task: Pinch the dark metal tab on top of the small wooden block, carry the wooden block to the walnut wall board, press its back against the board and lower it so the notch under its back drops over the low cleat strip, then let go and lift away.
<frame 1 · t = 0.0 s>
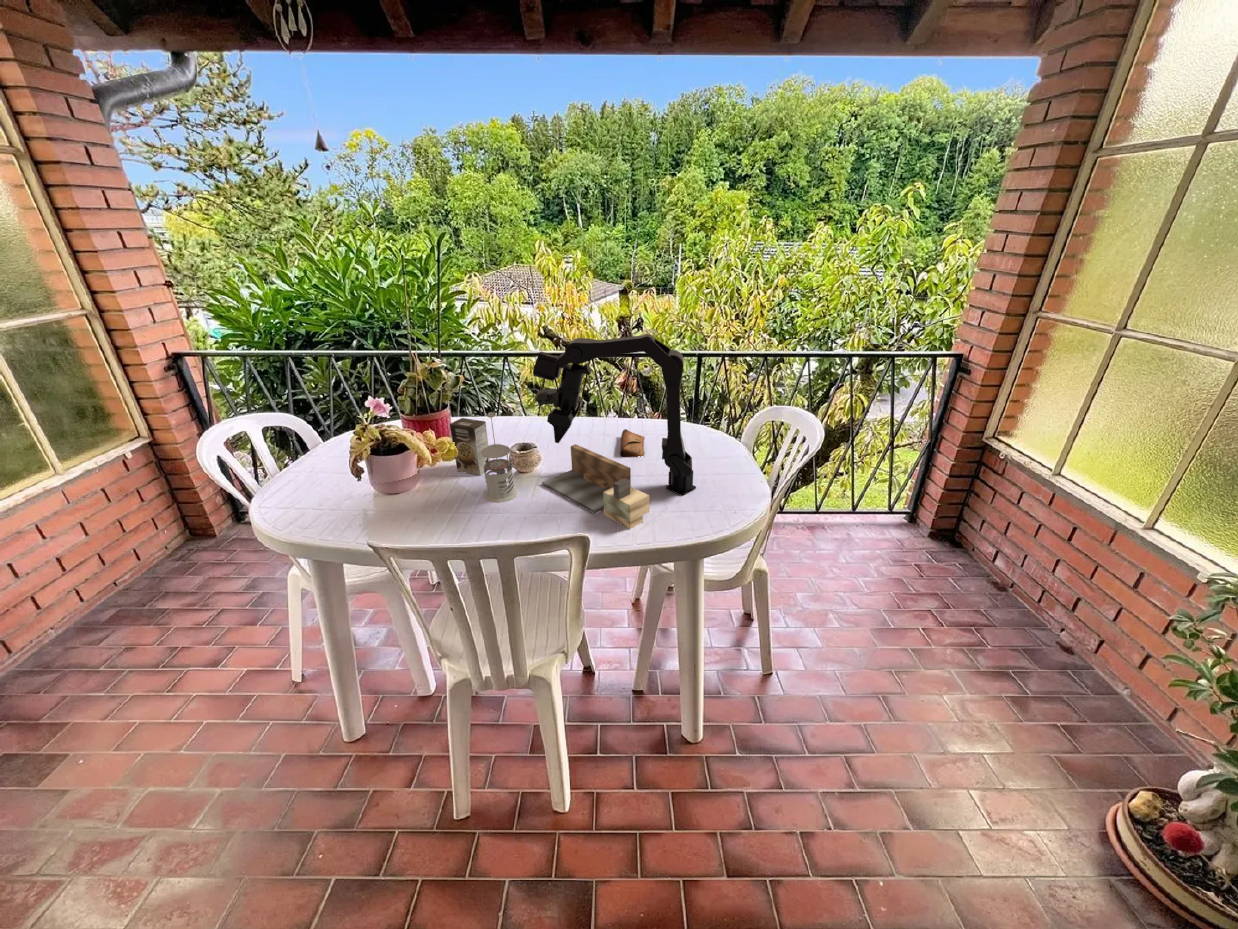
hand: (560, 436, 148), 15 cm above the table, tool pointing down, fingers open, 9 cm apart
wall board: (586, 490, 151), on the table
wooden block: (626, 516, 137), on the table
coffee box: (474, 470, 165), on the table
french press: (503, 493, 151), on the table
sunglasses case: (632, 448, 180), on the table
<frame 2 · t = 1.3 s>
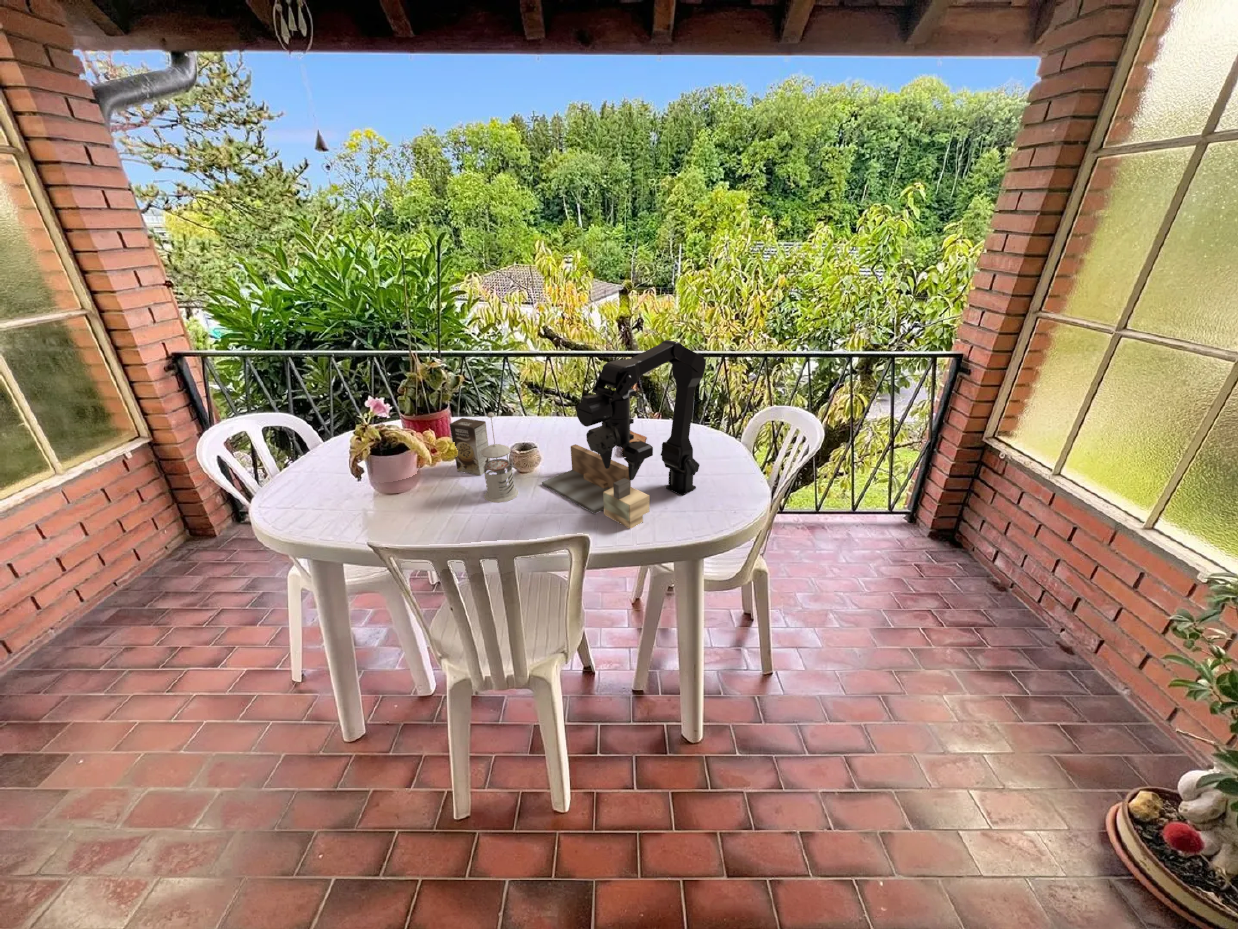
hand: (619, 473, 131), 13 cm above the table, tool pointing down, fingers open, 9 cm apart
nothing on the table moved.
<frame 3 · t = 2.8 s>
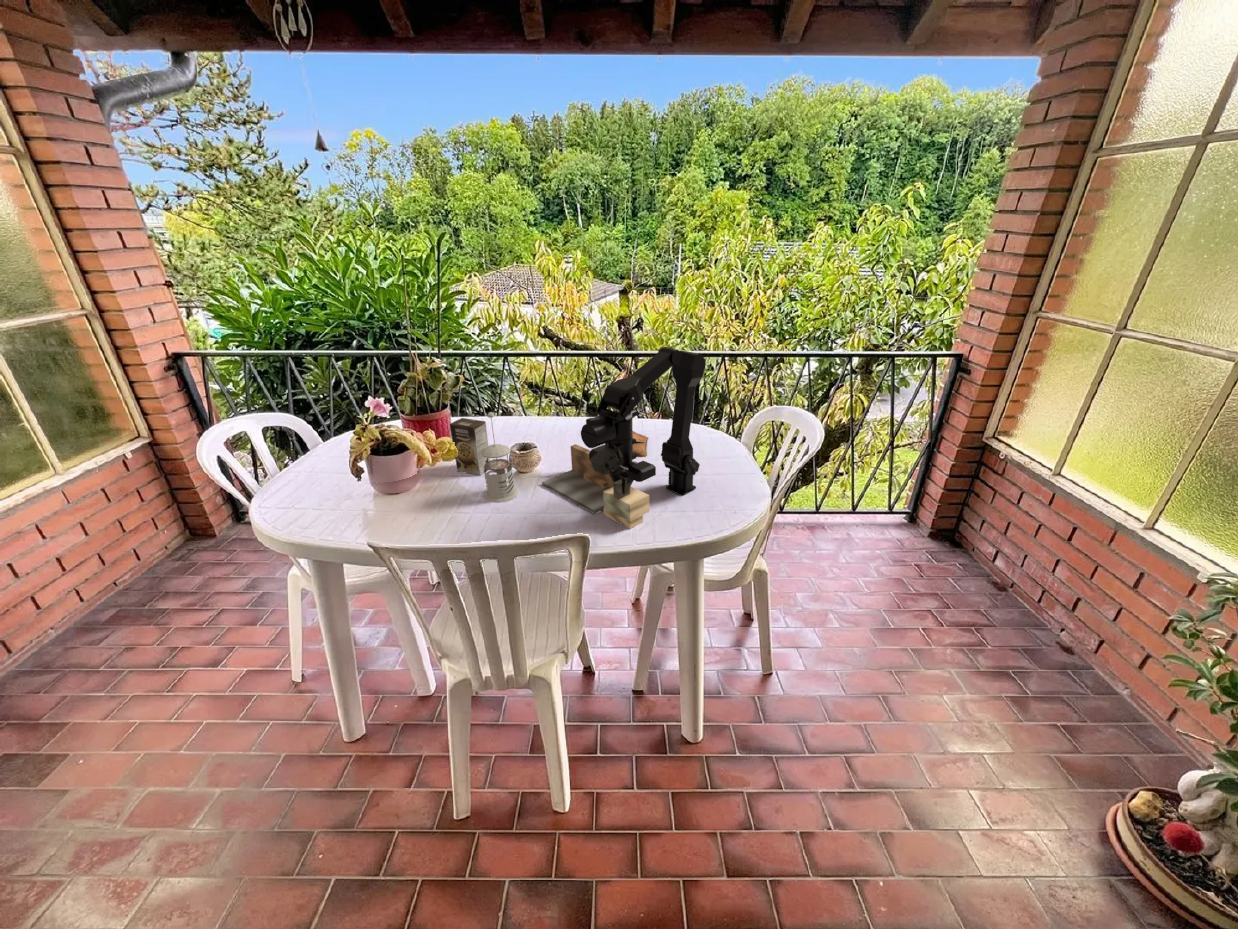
hand: (621, 492, 133), 8 cm above the table, tool pointing down, fingers closed on wooden block
wooden block: (626, 516, 137), on the table, touching gripper
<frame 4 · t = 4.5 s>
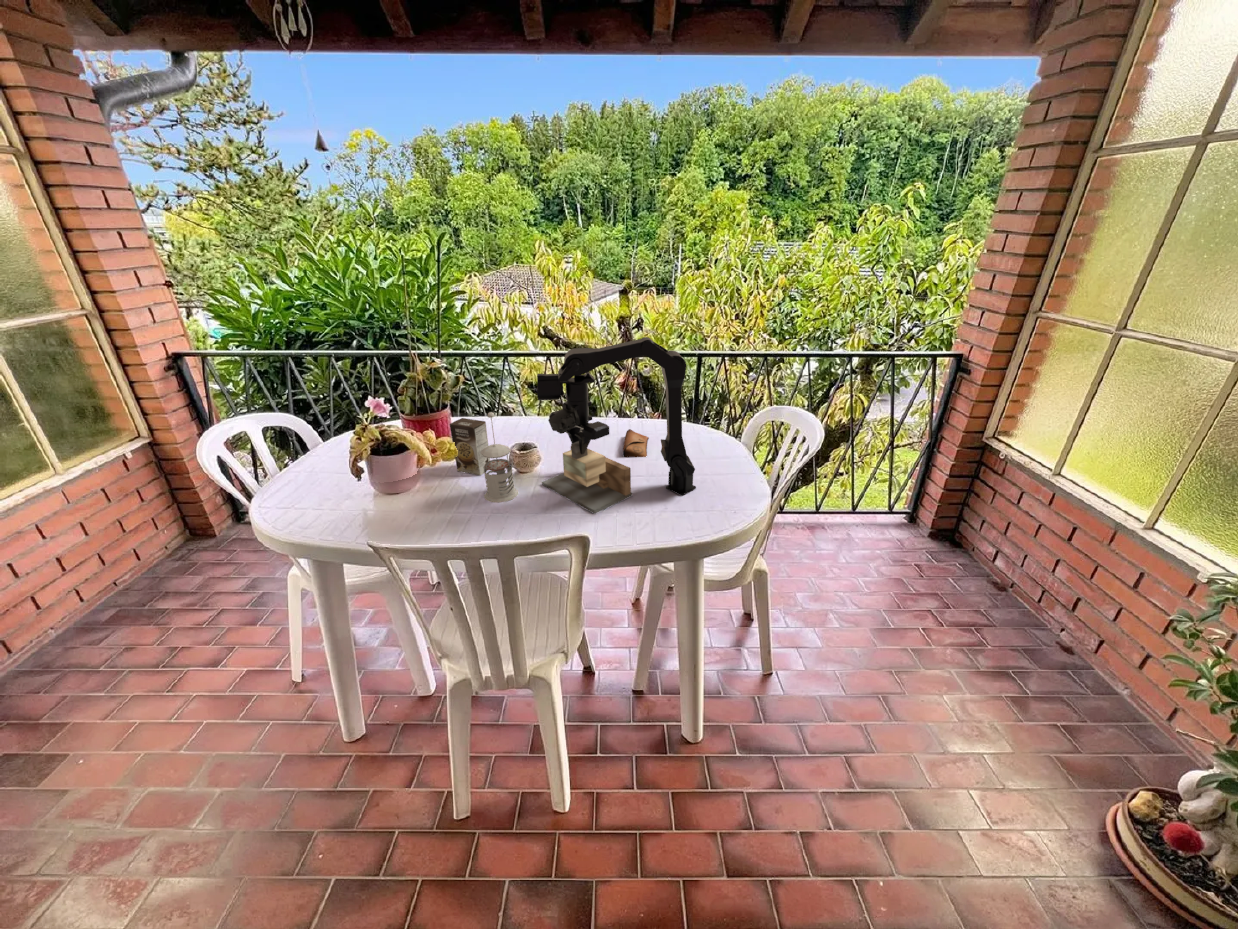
hand: (579, 452, 143), 13 cm above the table, tool pointing down, fingers closed on wooden block
wooden block: (584, 477, 147), point 5 cm above the table, touching gripper
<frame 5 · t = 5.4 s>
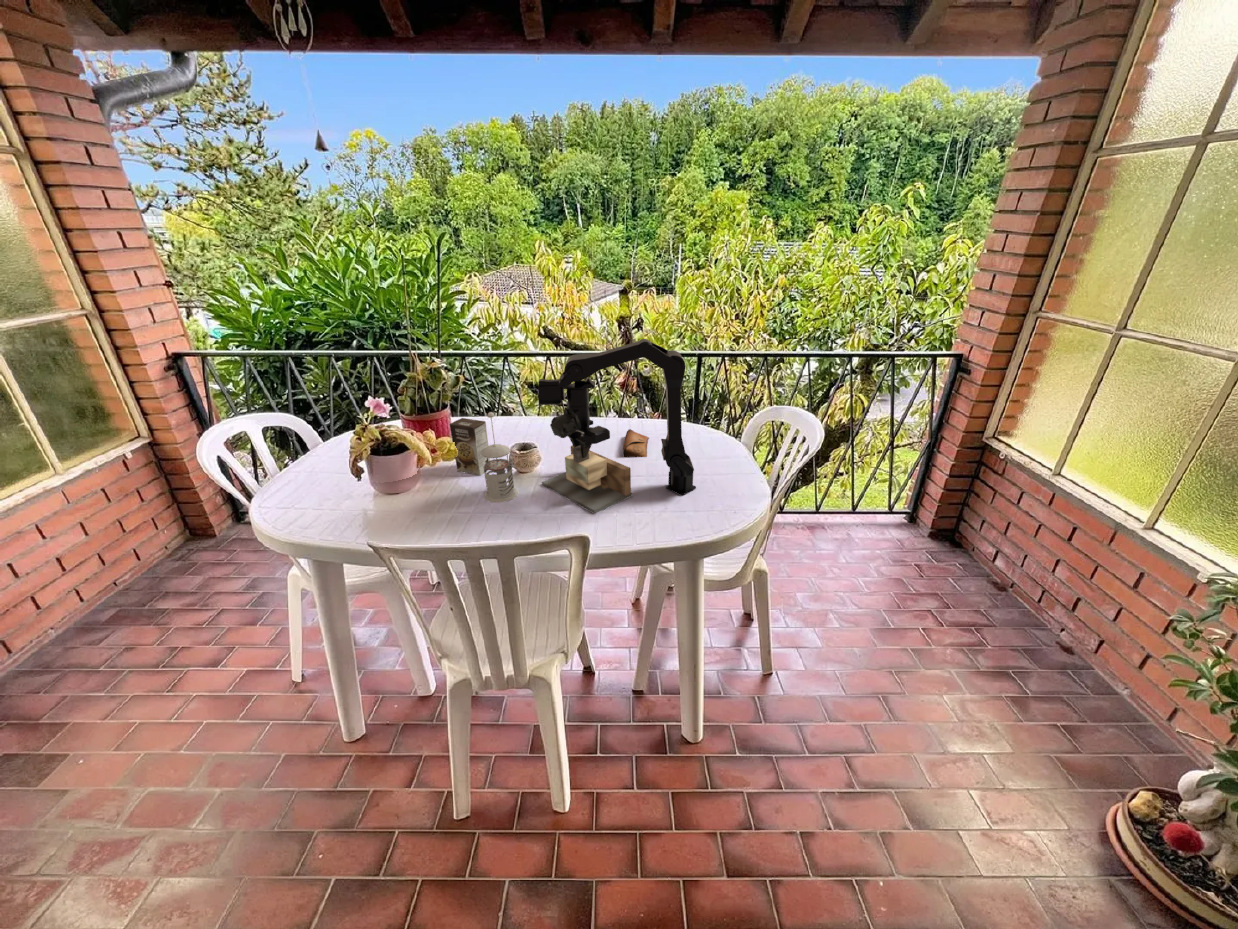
hand: (581, 456, 146), 11 cm above the table, tool pointing down, fingers closed on wooden block
wooden block: (586, 480, 150), point 3 cm above the table, touching gripper
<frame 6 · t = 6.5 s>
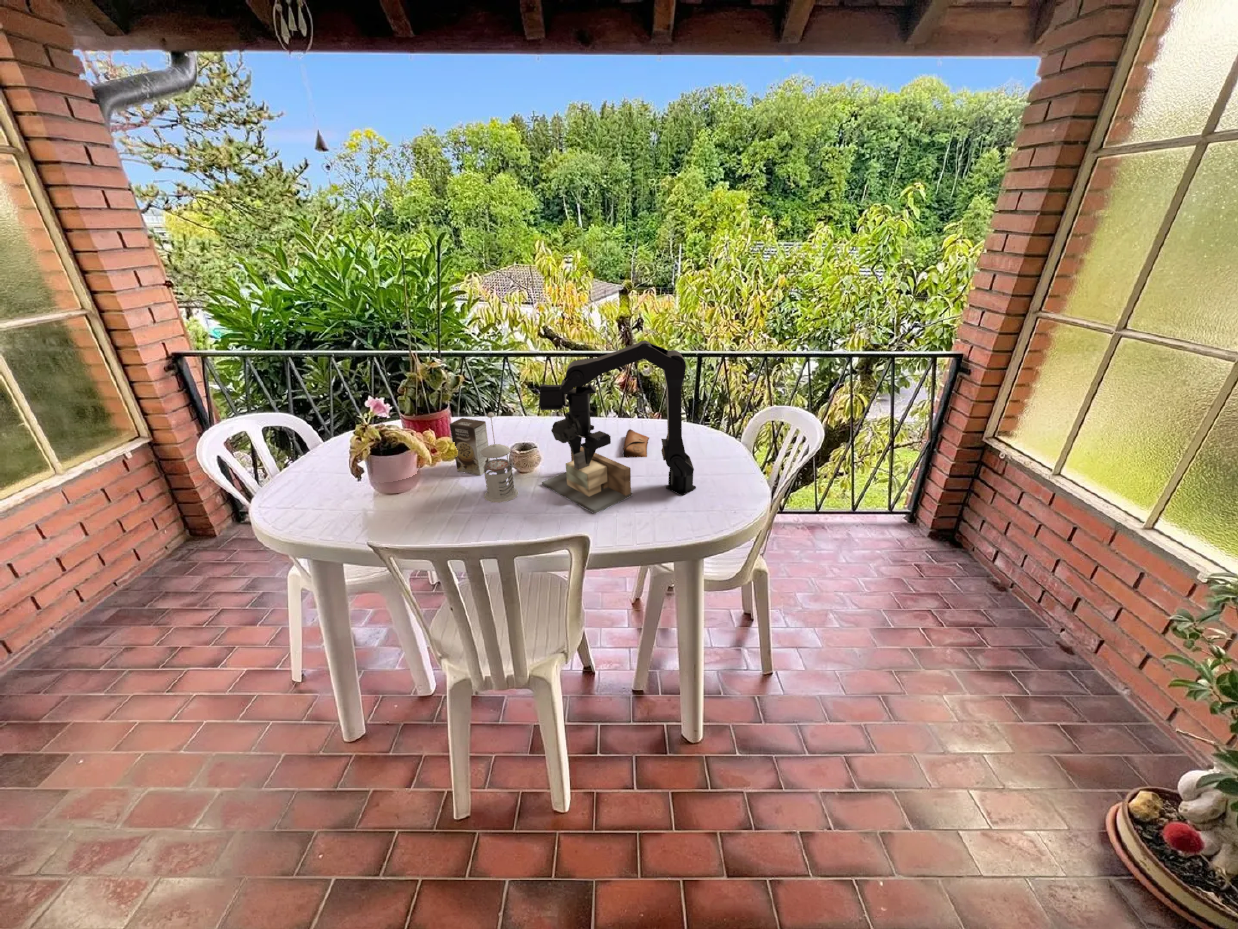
hand: (582, 461, 147), 10 cm above the table, tool pointing down, fingers open, 5 cm apart
wooden block: (587, 486, 151), point 1 cm above the table, touching wall board
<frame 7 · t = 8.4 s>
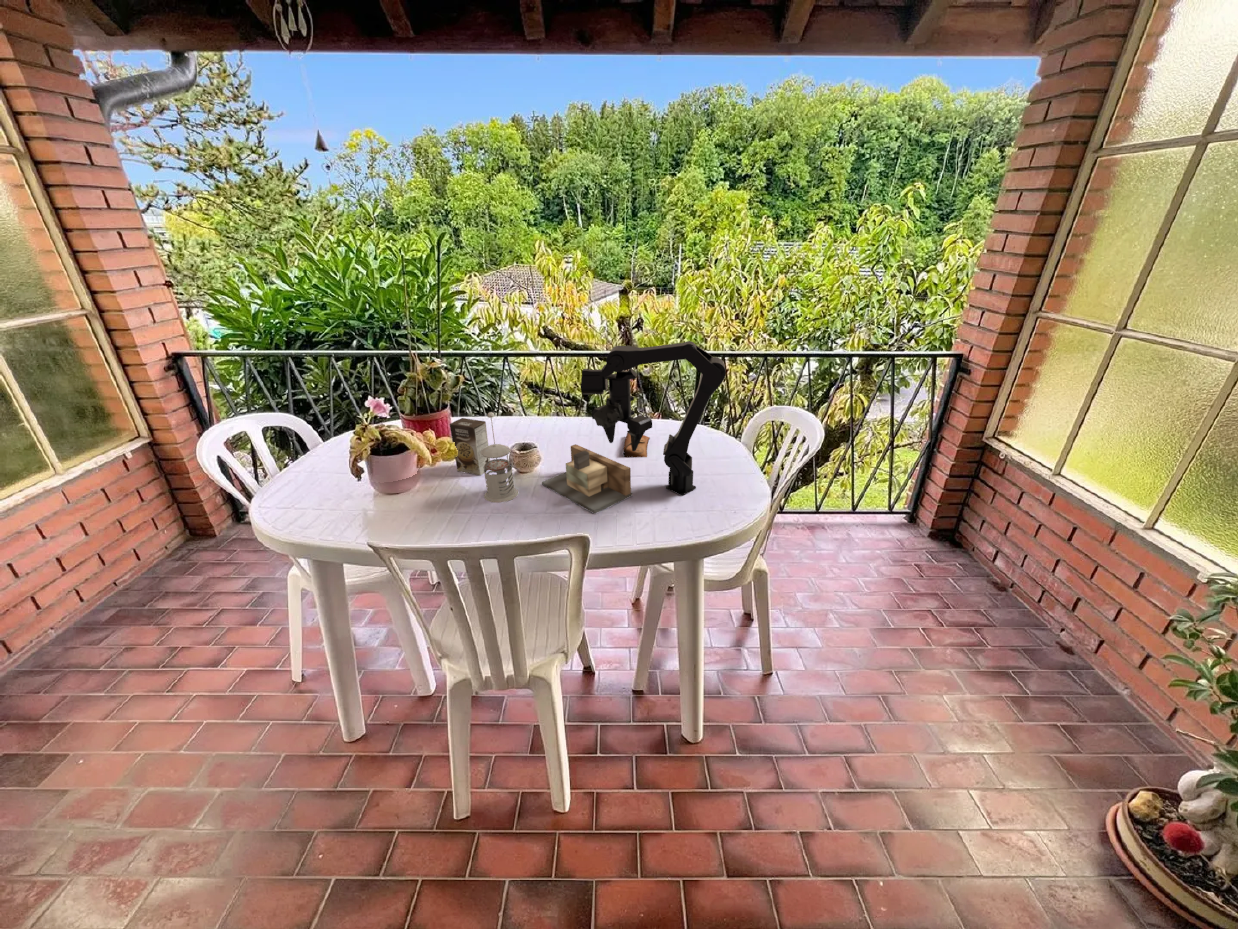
hand: (622, 446, 148), 13 cm above the table, tool pointing down, fingers open, 9 cm apart
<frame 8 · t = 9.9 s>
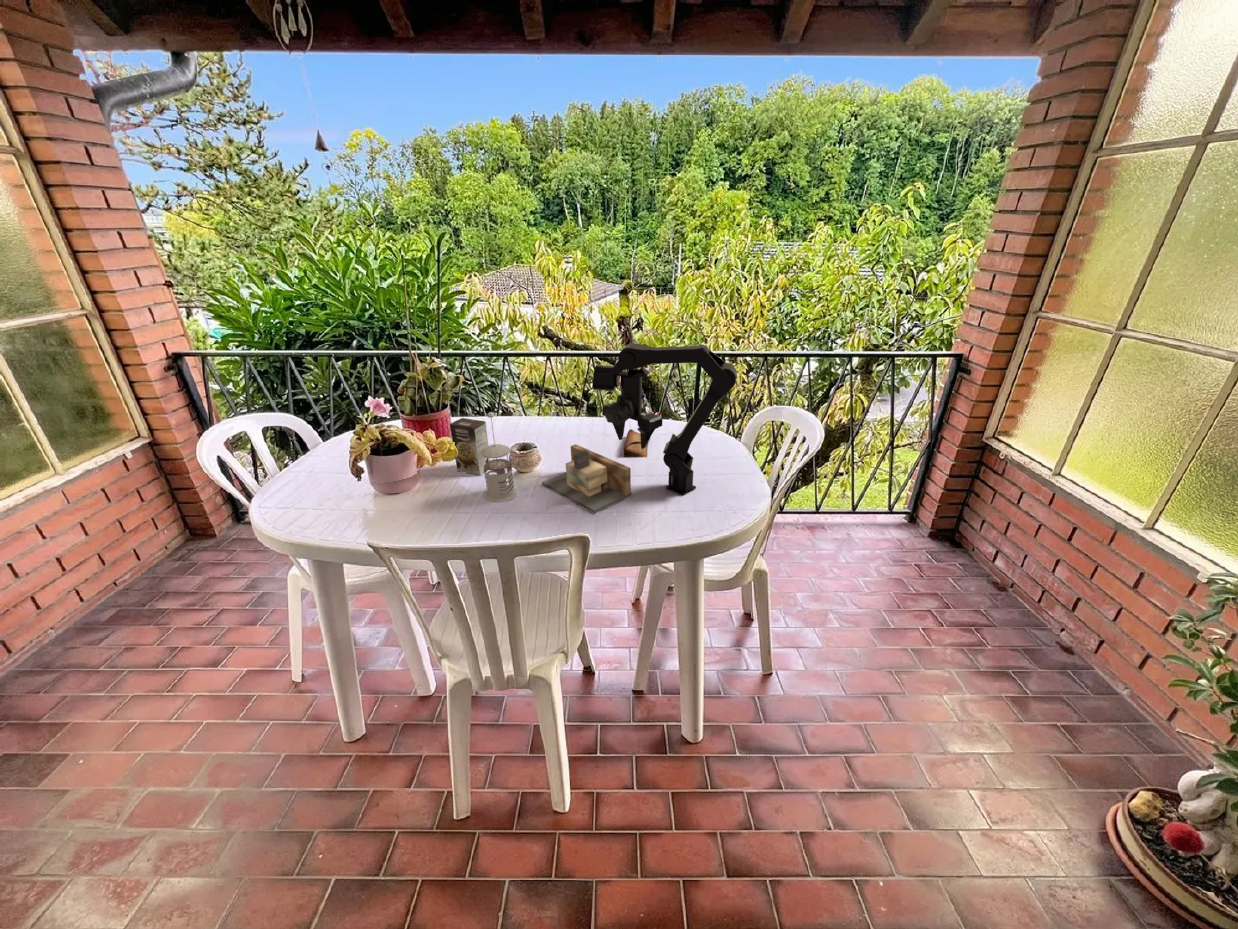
hand: (631, 444, 148), 13 cm above the table, tool pointing down, fingers open, 9 cm apart
at the end: wooden block 0.2 cm off-centre on the wall board, point 1.0 cm above the wall board's base; wooden block tilted 0°; the gripper is holding nothing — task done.
